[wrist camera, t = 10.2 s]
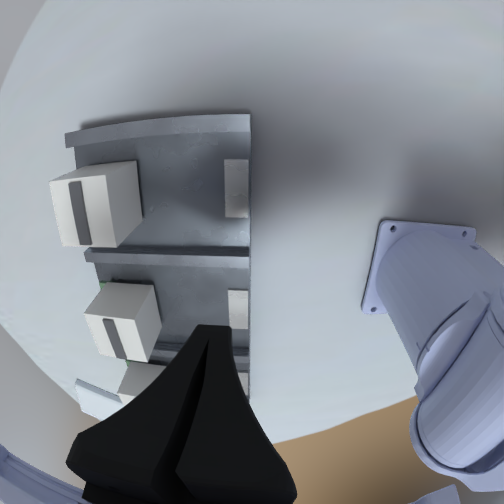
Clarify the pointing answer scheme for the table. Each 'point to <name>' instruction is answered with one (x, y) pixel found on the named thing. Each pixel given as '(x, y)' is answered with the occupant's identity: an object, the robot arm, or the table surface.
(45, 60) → the table surface
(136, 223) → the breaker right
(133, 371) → the breaker
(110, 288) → the block
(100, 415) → the external hard drive
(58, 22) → the table surface
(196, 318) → the panel
